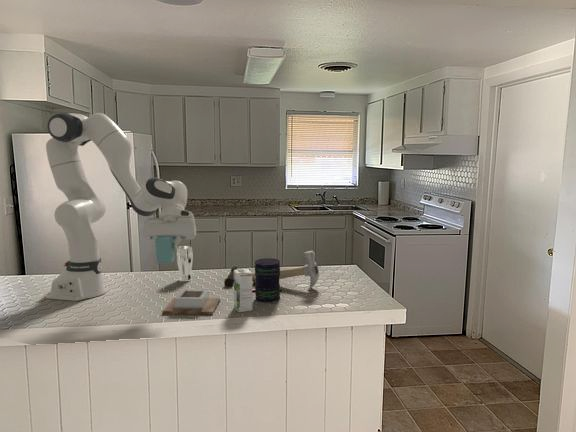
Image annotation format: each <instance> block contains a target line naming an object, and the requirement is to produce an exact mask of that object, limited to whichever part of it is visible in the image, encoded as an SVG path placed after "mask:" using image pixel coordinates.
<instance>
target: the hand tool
mask: <svg viewBox="0 0 576 432" xmlns="http://www.w3.org/2000/svg"><path fill="white" fill-rule="evenodd" d="M237 269H238V267H237V266H233V267H232V268H231V269H230V272H229V274H228V276H227V277H226V278H225V279H224V282H223V283H224V286H225V287H226V288H229V287H231V288H232V287H234V270H237Z"/></svg>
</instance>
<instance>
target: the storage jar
mask: <svg viewBox="0 0 576 432" xmlns="http://www.w3.org/2000/svg"><path fill="white" fill-rule="evenodd" d="M280 263H281V261H280V259H278V258H259V259H256V260H255V261H254V272H255V276H256V283H255V287H254V293H255V301H256V302H258V303H265V304H266V303H267V304H268V303H270V304H271V303H276V302H279V301H280V300H281V284H280V279H279V276H280V270H281V265H280Z"/></svg>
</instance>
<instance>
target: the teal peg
mask: <svg viewBox="0 0 576 432" xmlns="http://www.w3.org/2000/svg"><path fill="white" fill-rule="evenodd" d="M155 241H156V249H155V253H156V264H171V263H172V262H173V263H174V261H175V258H176V257H175V249H173V248H172V243H175V240H174V239H173V236H159V237H158V238H156V239H155Z"/></svg>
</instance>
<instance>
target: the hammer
mask: <svg viewBox="0 0 576 432" xmlns="http://www.w3.org/2000/svg"><path fill="white" fill-rule="evenodd" d="M302 257H303V261H305V262H306V264H305V265H304V266H299V267H298V266H297V267H290V268H283V269H281V268H280V276H279V280H282V279H287V278H294V277H299V276H304V277H310V282H309V288H308V289H307V290H306V291H309V290H311V289H312V288H313V287H314V286H316V284H317V283H318V280H319V277H320V272H319V270H320V269H319V268H318V264H317V262H316V261H315V258H316V253H315V252H314V250H308V251H305V252H303V253H302ZM253 283H254V284H256V276H255V271H253V272H252V284H253Z"/></svg>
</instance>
